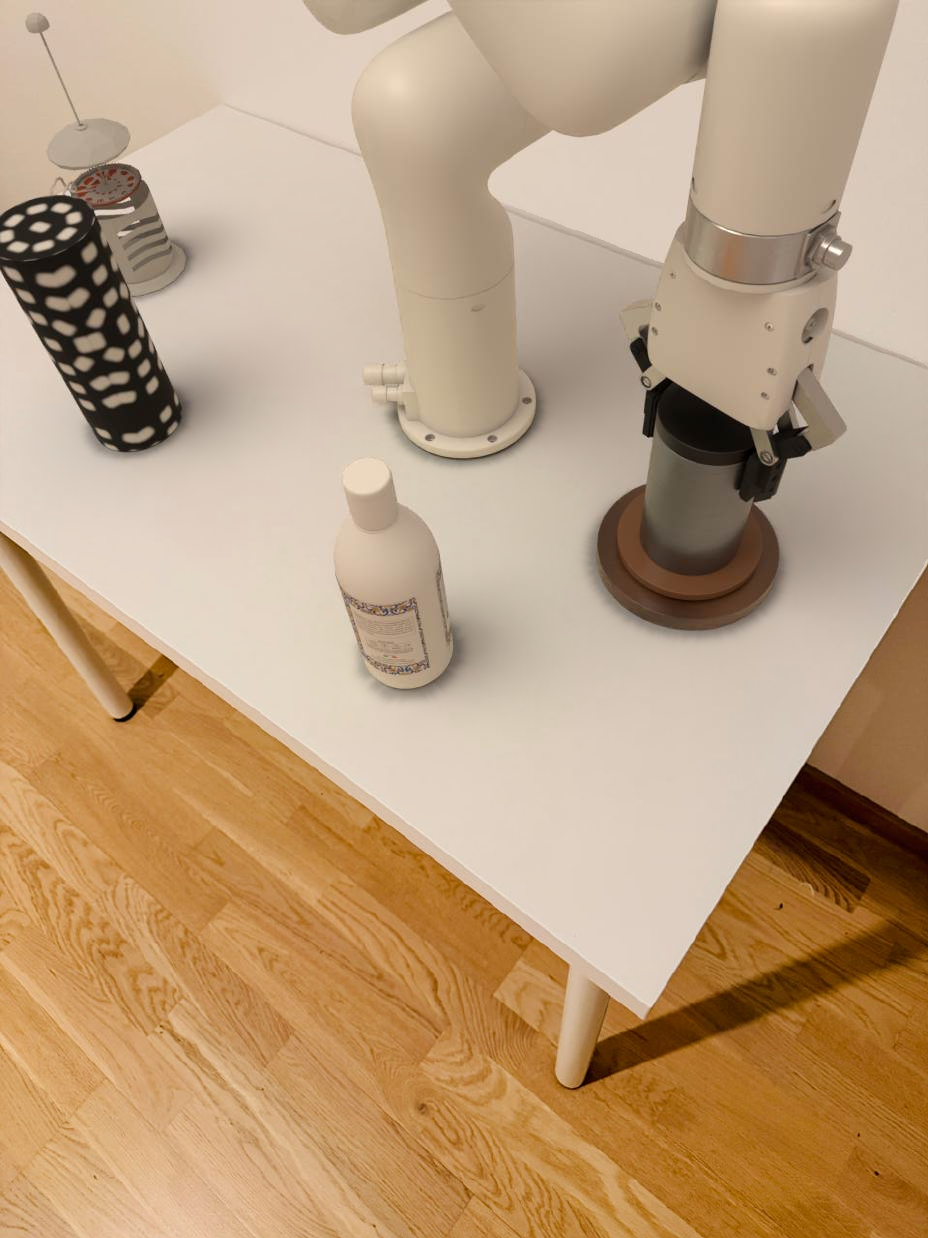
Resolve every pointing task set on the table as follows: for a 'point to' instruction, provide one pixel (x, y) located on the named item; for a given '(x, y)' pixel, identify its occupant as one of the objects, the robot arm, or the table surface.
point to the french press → (114, 194)
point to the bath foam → (391, 581)
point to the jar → (693, 504)
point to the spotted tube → (87, 320)
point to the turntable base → (679, 610)
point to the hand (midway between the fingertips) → (706, 455)
